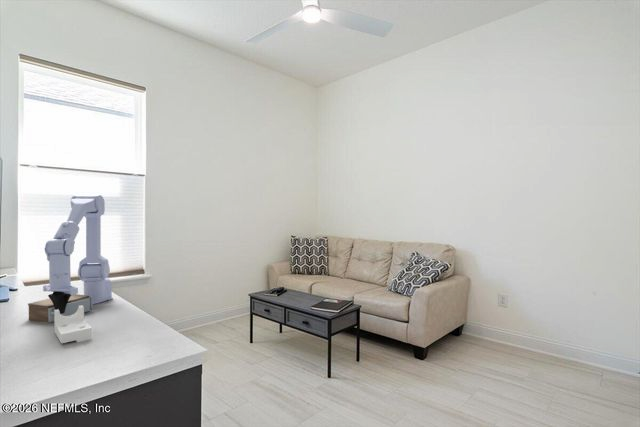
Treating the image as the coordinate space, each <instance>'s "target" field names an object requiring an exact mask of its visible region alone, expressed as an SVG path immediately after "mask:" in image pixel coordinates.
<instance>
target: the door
mask: <svg viewBox="0 0 640 427" xmlns="http://www.w3.org/2000/svg"><path fill="white" fill-rule="evenodd" d="M81 305H82V306H83V307H84V313H86V312H90V311H92V304H91V298H87V299H83V300H79V301H75V302H71V303H67V305H66V309H65V313H63V314H61V315H63V316H70V315H73V314H74V313H75V312H76V311H77V310H78V307H79V306H81ZM54 310H55V307H51V308H48V322H50V323H53V322H55V321H54ZM48 322H47V323H48Z"/></svg>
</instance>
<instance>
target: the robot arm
mask: <svg viewBox="0 0 640 427" xmlns="http://www.w3.org/2000/svg"><path fill="white" fill-rule="evenodd" d="M105 203H106V202H105V199H104V197H103V195H101V194H73V196H71V198H70V208H71V210H70V213H69V214H68V218H67V220H66V221H64V222H62V223H61V224H60V226H59V228H58V229H57V231H56V233H55V234H54V236H53V237H52V238H51V239H49V240H48V241H46V243H45V246H44V253H45V254H46V260H47V262H48V265H49V266H48V268H49V270H48V272H49V273H48V274H49V277H48V278H49V284H46V285H42V287H43V288H42V291H43V292H52V293H50V294H48V295H47V296H48V299H51V301H52V302H53V305H54V307H55V310H57V309H58V310H59V311H60V314H63V313H65V309H66V305H67V302H68V300H69V298H70V297H71V295H74V294H78V295H79V288H78V287H75V286H73V285H71V283H72V282H71V255H72V254H73V252H74V249H75V244H76V241H75V240H76V238H77V236H78V233H79V232H80V226H79V225H80V223H81V222H82V220H83V219H84V217H85V221H86V222H85V224H86V225H85V241H86V242H85V246H86V247H85V257H84V258H82V259H81V260H80V261H79V263H78V264H79V265H78V269H77V276H78V278H79V279H80V280H81V282H83V295H87V296H89V298H91V305H96V304H100V303H102V302H106V301H109V300H113V299H114V297H113V292H112V291H113V290H112V288H113V287H112V286H113V284H112V281H111V279H110V278H108V277H109V275H110V270H111V269H110V268H111V267H110V264H109V259H108V258H106V257H104V256H102V255H101V248H102V247H101V239H102V238H101V236H102V235H101V234H102V233H101V226H102V225H101V223H102V222H101V217H102V216H104V215H105V211H106V209H105Z"/></svg>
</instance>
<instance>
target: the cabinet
mask: <svg viewBox="0 0 640 427" xmlns="http://www.w3.org/2000/svg"><path fill="white" fill-rule="evenodd" d="M87 298H89V296H87V295H84V294H79V293H78V294H74V295H71V297H70V298H69V300H68V302H67V303H71V302H75V301H79V300H83V299H87ZM27 306H28V320H30V321H36V322H42V323H48V324H49V323H51V322H48V308H51V307H54V305H53V302H52V301H51V299H50V298H46V299H41V300H38V301H32V302H29V303H27Z"/></svg>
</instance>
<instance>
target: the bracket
mask: <svg viewBox="0 0 640 427" xmlns="http://www.w3.org/2000/svg"><path fill="white" fill-rule="evenodd" d="M53 322H54V334H55V335H56V336H57V338H58V340H59V342H60V343H61V344H66V343H69V342H76V343H80V342H84V341H89V340H92V327H91V326H90V324H88V322H87V321H86V320H85V312H84V307H83V306H82V305H81V306H79V307H78V310H77V311H76V312H75V313H74V314H73V315H70V316H63V315H61V314H60V311H59V310H58V309H57V310H54V321H53Z"/></svg>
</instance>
